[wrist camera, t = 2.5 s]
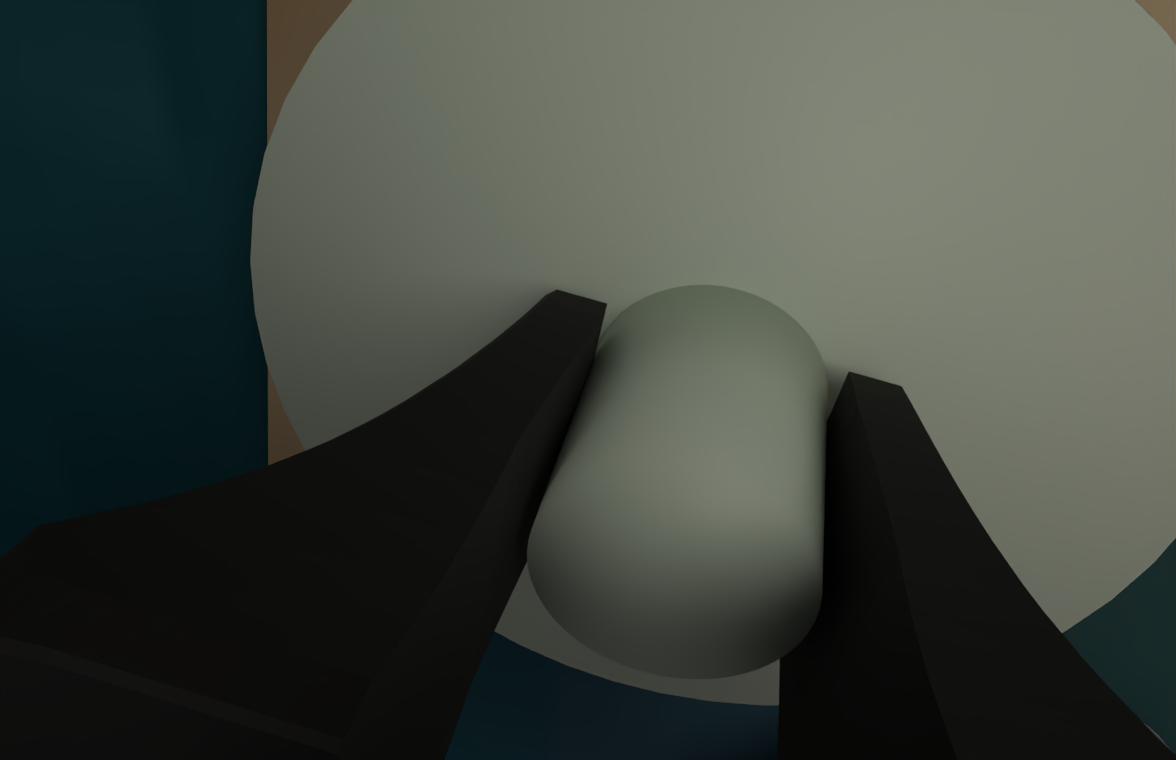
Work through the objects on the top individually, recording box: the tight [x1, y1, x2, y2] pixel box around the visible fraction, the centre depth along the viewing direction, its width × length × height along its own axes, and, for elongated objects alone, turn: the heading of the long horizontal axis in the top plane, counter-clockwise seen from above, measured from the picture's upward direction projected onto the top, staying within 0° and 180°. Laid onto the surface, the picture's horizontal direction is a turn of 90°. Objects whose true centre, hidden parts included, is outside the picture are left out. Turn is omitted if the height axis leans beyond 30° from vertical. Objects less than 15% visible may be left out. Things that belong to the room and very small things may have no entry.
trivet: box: [267, 0, 1176, 465], centre depth 15 cm, size 14×14×1 cm
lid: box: [250, 0, 1176, 705], centre depth 11 cm, size 12×12×4 cm
